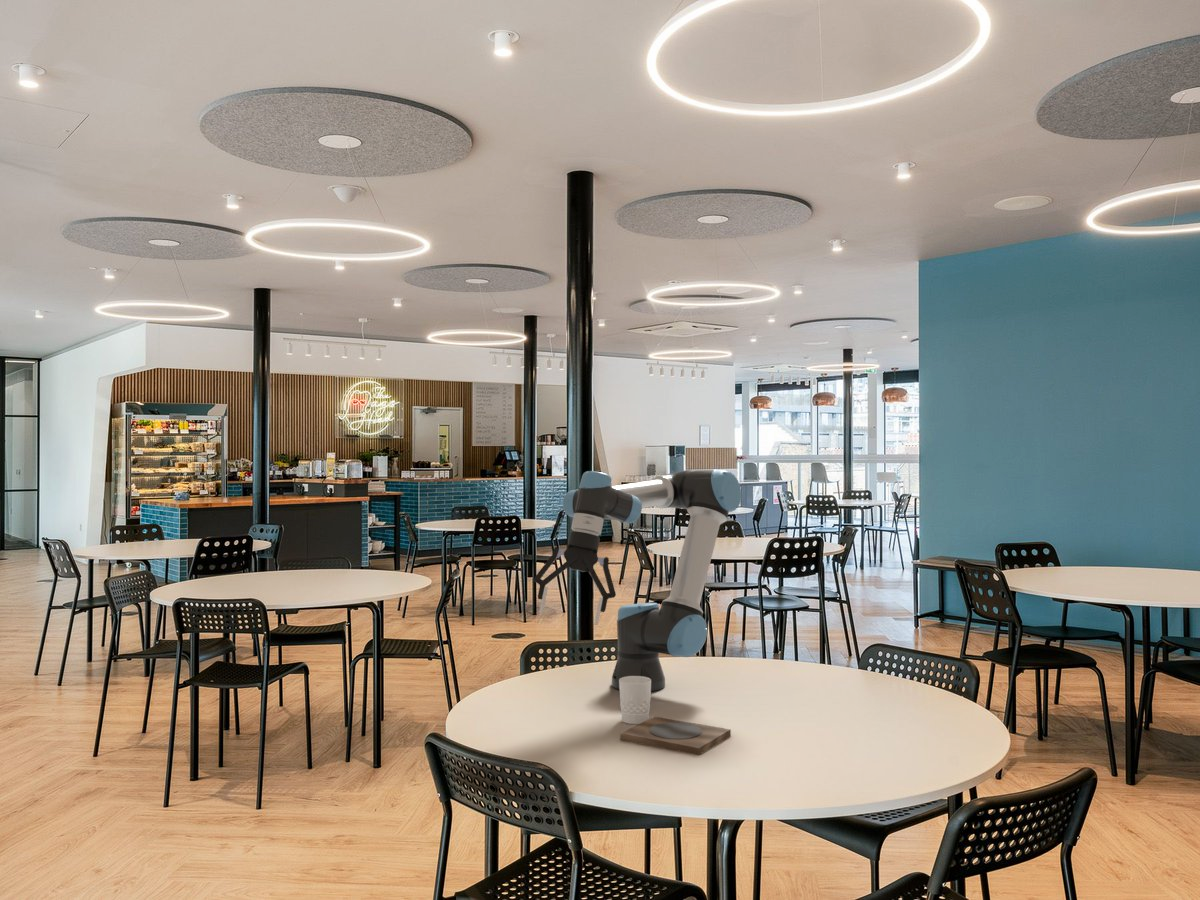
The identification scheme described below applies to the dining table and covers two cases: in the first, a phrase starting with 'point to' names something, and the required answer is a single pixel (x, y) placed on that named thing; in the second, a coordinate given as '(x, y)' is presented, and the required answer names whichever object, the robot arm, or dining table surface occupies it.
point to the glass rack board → (676, 735)
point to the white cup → (635, 699)
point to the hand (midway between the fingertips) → (568, 619)
